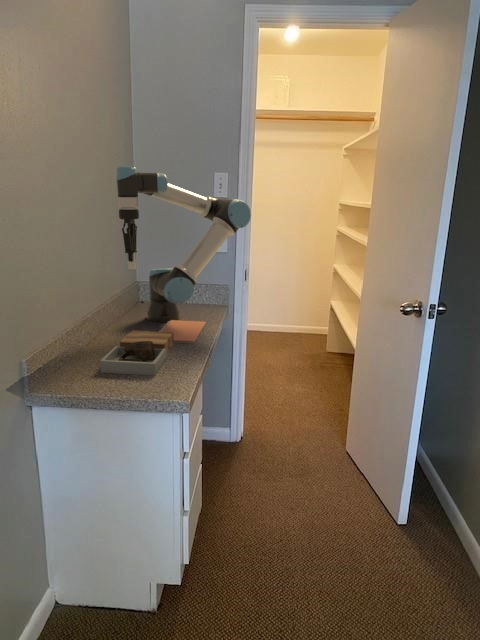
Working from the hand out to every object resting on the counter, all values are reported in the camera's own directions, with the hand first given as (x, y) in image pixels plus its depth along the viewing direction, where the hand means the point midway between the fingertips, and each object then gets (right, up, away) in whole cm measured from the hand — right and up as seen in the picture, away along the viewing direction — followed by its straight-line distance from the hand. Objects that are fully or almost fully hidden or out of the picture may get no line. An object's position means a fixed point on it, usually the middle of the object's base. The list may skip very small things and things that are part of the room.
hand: (132, 269), depth 181 cm
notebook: (+19, -26, +7) cm, 33 cm away
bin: (+8, -36, -29) cm, 47 cm away
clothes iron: (+9, -30, -26) cm, 41 cm away
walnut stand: (+9, -32, -14) cm, 36 cm away
